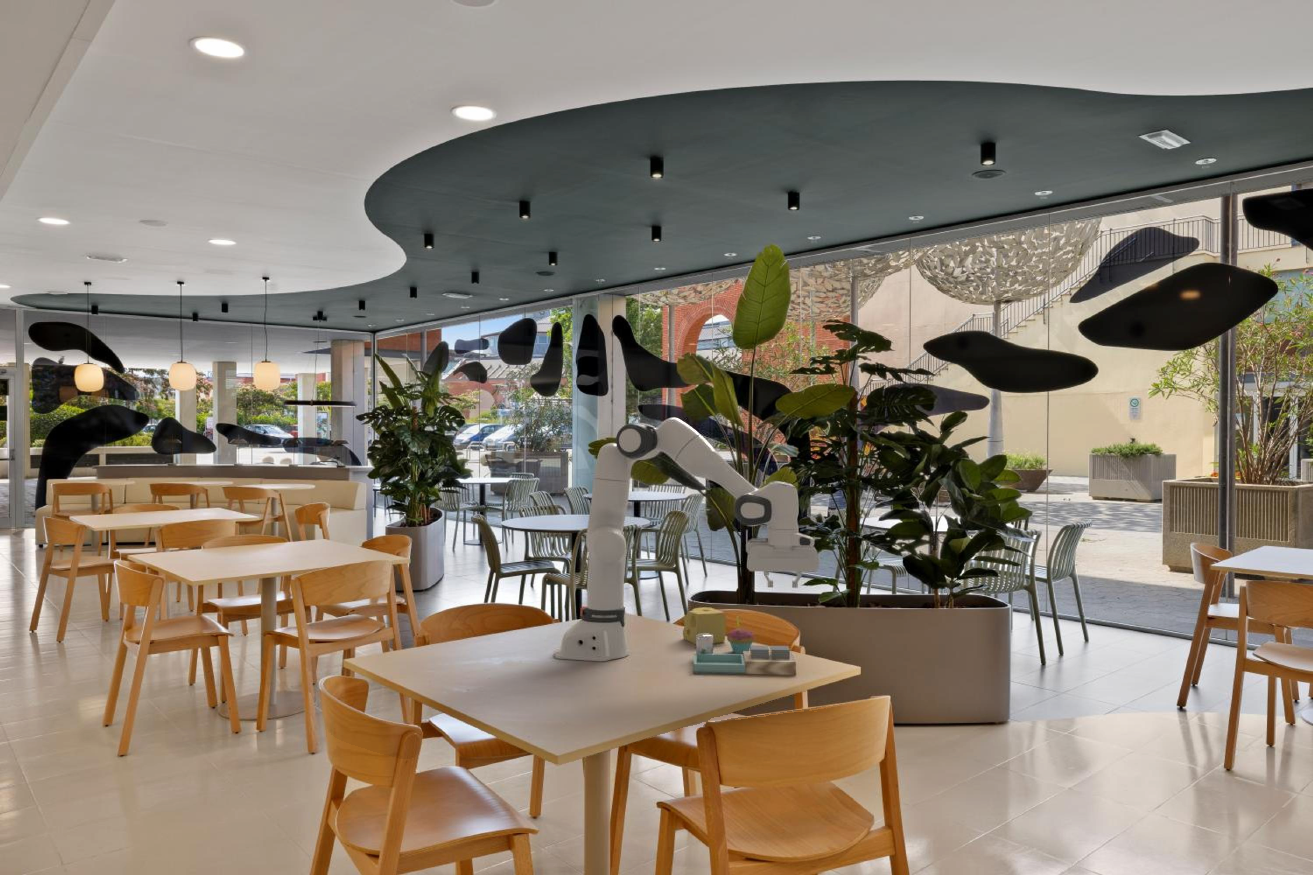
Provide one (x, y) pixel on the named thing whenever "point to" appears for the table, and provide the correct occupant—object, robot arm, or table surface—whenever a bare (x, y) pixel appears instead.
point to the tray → (719, 663)
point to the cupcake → (740, 639)
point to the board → (769, 665)
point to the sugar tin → (704, 643)
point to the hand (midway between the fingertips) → (782, 587)
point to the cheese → (705, 624)
